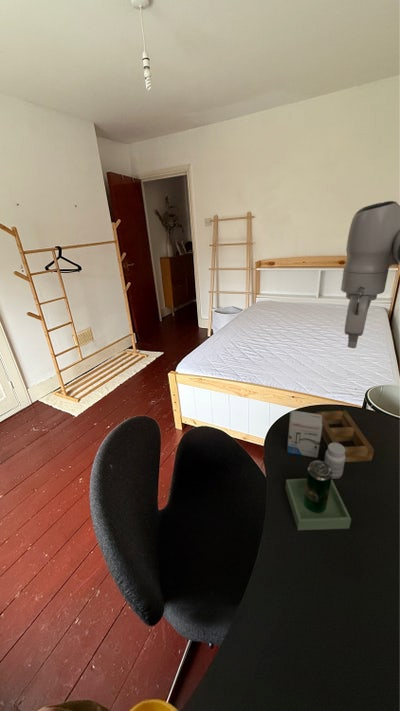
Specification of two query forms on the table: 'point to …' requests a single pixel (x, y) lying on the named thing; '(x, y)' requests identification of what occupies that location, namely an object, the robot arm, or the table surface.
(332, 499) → the tray
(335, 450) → the pill bottle
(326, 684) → the table surface
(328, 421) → the rack
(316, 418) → the ink box
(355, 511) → the table surface
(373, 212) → the robot arm
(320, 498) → the soda can
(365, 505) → the table surface
